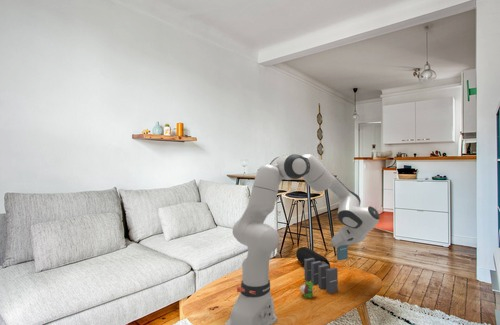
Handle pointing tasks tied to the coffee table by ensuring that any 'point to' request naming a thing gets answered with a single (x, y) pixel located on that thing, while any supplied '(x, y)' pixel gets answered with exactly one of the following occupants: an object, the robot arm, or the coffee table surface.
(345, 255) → the domino
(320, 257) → the portable speaker
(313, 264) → the domino
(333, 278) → the domino
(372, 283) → the coffee table surface
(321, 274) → the domino
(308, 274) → the domino
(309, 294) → the geometric puzzle
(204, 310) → the coffee table surface
